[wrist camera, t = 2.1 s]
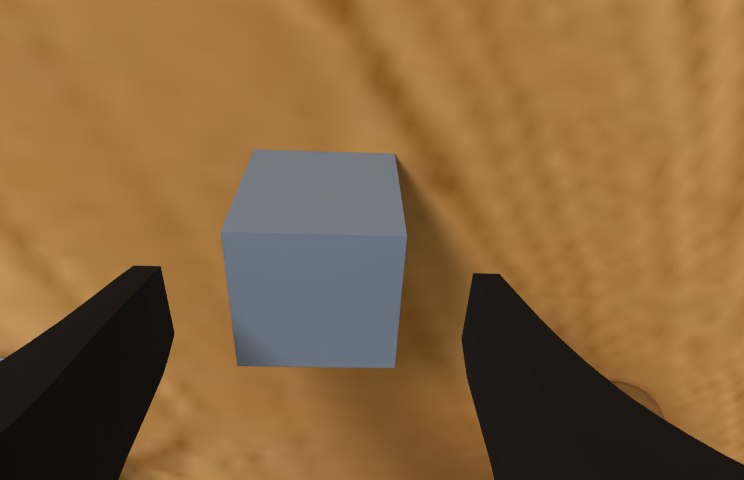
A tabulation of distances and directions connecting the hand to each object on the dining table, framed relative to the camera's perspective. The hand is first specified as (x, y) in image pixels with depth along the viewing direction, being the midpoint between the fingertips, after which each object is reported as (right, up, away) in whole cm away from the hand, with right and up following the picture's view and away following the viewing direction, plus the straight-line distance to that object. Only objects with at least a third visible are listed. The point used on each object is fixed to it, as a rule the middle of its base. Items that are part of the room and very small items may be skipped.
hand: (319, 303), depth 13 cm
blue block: (0, +2, +4) cm, 5 cm away
